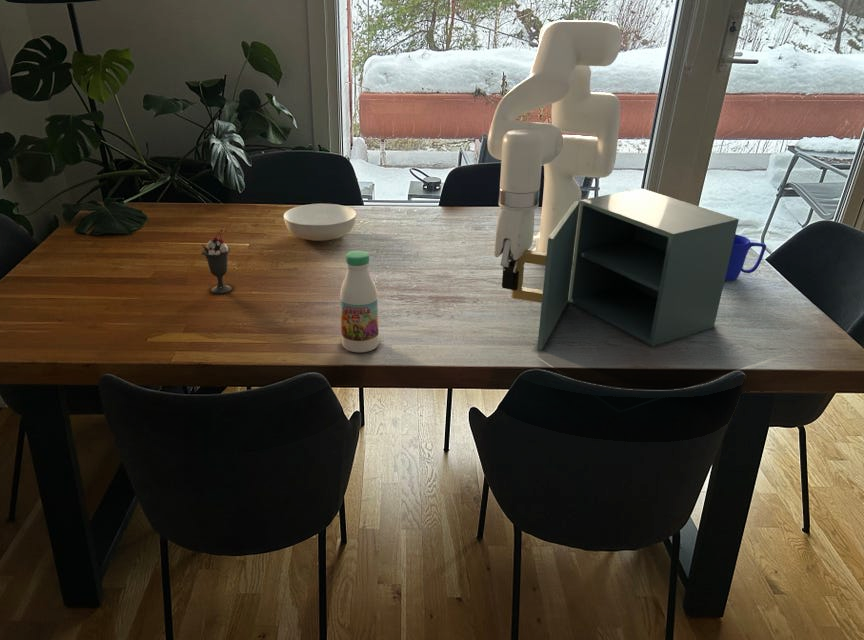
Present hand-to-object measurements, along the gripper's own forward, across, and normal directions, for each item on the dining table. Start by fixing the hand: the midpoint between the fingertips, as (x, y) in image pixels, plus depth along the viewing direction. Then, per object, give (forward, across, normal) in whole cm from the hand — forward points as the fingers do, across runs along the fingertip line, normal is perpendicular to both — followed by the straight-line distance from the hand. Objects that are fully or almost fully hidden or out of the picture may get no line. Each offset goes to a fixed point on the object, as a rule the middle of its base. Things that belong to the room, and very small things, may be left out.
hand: (512, 285), depth 146 cm
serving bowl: (+12, -36, -71) cm, 80 cm away
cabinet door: (+12, -10, +3) cm, 15 cm away
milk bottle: (+12, +18, -26) cm, 34 cm away
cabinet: (+12, -24, +22) cm, 34 cm away
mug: (+12, -56, +38) cm, 68 cm away
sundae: (+12, +8, -71) cm, 73 cm away
